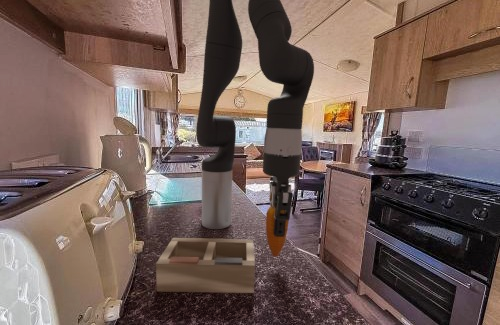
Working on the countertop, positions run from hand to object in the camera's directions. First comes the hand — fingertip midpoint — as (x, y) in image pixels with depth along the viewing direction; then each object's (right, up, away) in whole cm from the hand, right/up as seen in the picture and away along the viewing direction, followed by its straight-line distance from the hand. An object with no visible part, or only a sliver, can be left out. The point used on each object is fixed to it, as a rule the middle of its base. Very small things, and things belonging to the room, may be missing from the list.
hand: (276, 229), depth 48 cm
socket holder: (-14, -9, -2) cm, 17 cm away
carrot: (0, -7, +1) cm, 7 cm away
